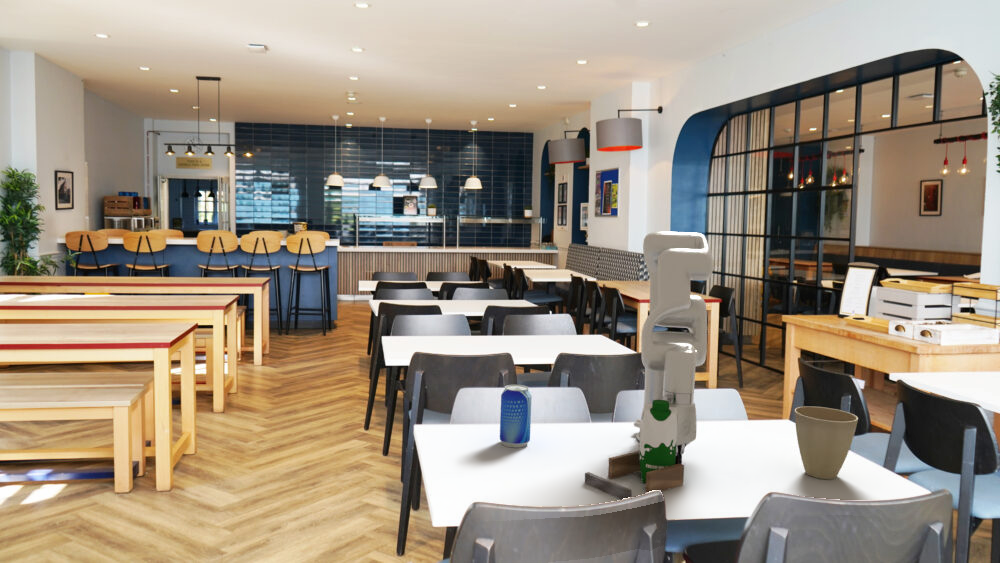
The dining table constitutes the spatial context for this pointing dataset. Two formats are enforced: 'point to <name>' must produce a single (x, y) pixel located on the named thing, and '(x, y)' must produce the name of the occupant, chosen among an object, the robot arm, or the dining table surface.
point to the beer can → (515, 416)
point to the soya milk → (657, 437)
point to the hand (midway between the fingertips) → (674, 468)
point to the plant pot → (824, 439)
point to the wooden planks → (631, 464)
